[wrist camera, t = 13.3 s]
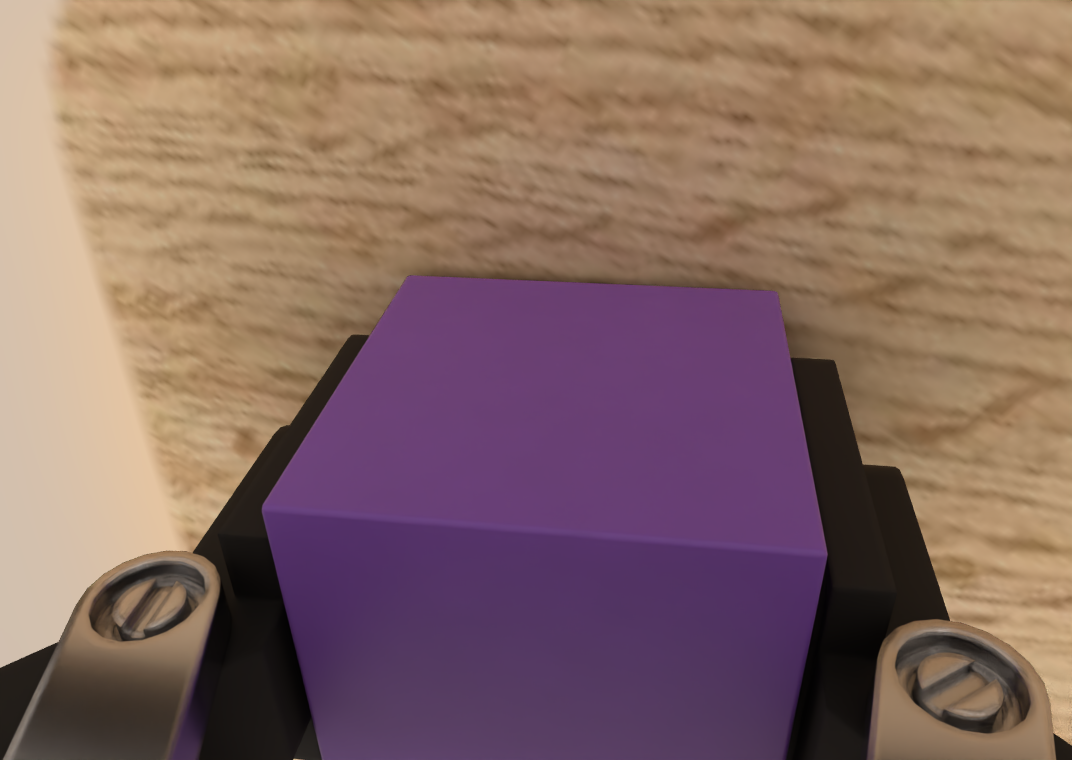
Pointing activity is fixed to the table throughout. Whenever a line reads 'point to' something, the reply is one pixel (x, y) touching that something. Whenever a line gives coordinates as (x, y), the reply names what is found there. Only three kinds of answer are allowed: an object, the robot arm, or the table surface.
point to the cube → (555, 528)
